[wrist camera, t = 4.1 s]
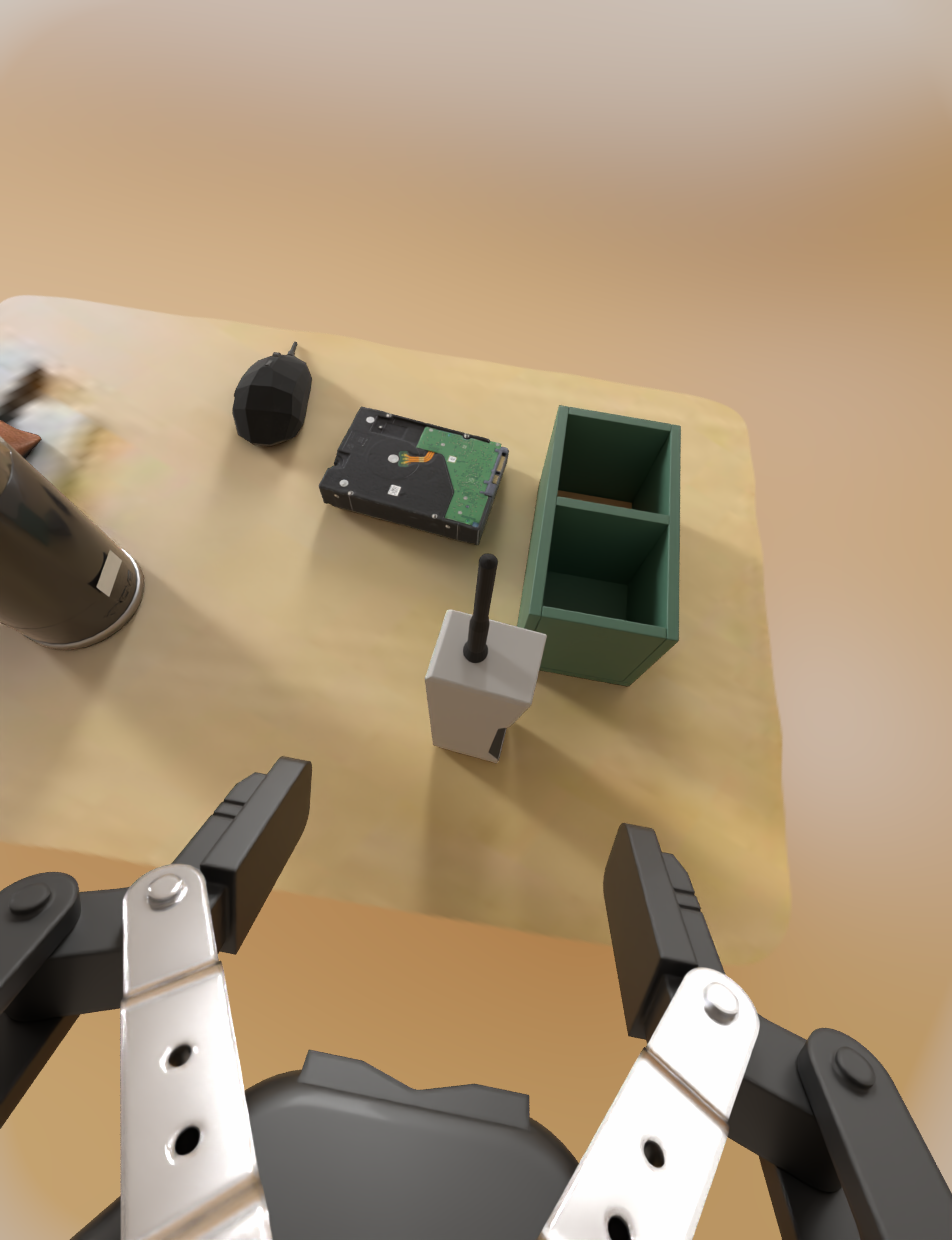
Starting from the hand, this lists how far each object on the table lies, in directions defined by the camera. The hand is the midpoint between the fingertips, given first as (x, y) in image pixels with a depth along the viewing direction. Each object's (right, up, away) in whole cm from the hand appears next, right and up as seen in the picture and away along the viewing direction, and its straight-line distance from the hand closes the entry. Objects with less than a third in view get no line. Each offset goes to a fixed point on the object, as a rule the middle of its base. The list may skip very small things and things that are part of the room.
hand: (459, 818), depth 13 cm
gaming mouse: (-19, +28, +39) cm, 52 cm away
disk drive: (-5, +18, +36) cm, 40 cm away
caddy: (+10, +9, +32) cm, 35 cm away
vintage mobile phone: (0, -3, +26) cm, 26 cm away
